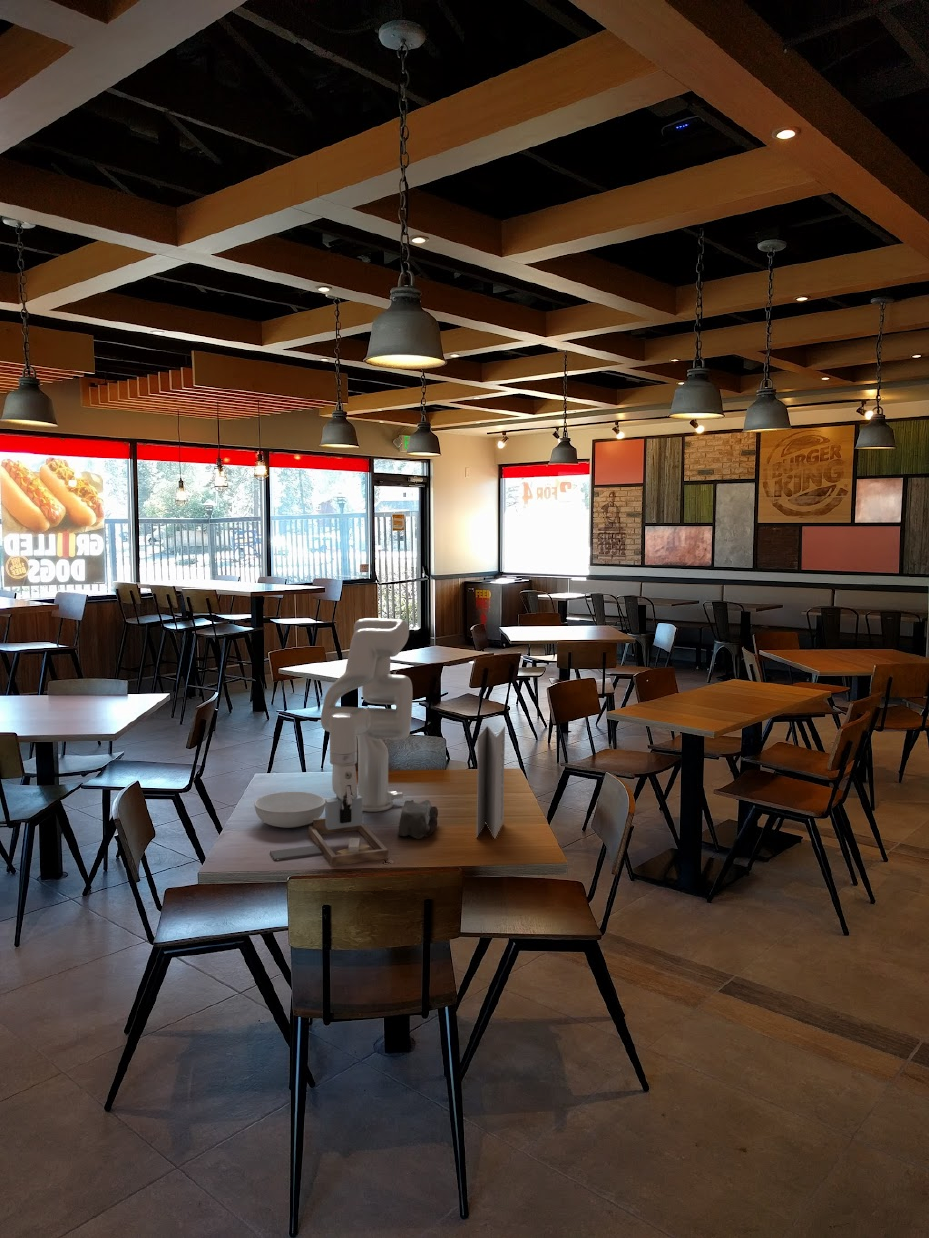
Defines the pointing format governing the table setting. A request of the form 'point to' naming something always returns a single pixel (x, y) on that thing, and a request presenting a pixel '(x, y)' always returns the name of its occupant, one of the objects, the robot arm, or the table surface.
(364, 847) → the offcut lower
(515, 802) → the table surface
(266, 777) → the table surface
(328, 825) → the light grey block
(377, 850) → the wooden tray
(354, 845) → the offcut upper
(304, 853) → the mat
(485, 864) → the table surface
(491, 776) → the brochure
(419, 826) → the rock
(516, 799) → the table surface
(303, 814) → the serving bowl
